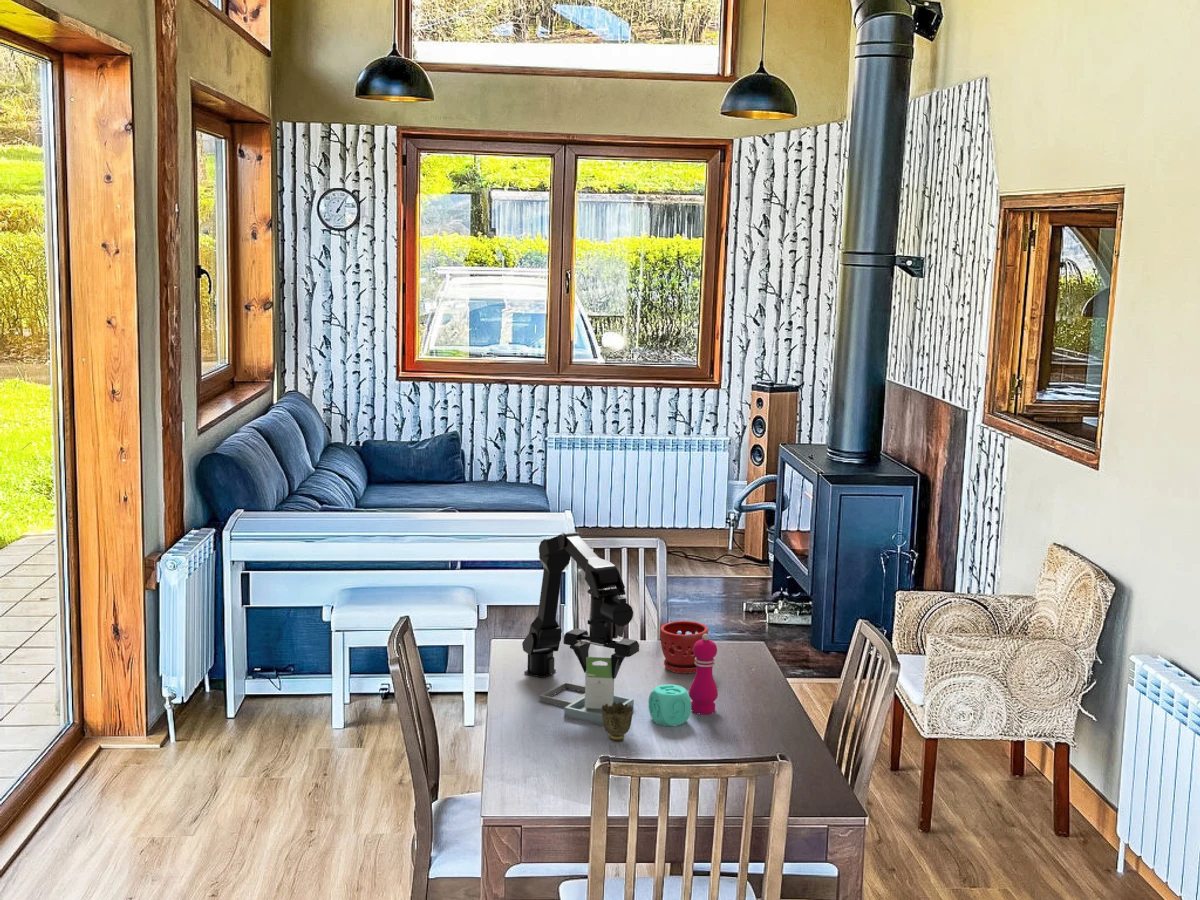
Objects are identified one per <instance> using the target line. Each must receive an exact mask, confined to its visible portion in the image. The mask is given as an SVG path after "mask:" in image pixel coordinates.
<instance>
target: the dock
mask: <svg viewBox="0 0 1200 900" xmlns="http://www.w3.org/2000/svg"><path fill="white" fill-rule="evenodd" d="M564 688H565V689H567V688H570V689H569V690H571V689H574V690H573V691H575V690H579V691H578V692H580V691H583V692H582V694H581V695H580V696H577V697H576V698H574V699H572V700H567V699H562V698H557V697H553V696H555V695H556V694H555V693H557V692H558V693H560V692H562V691H564V690H565V689H564ZM563 689H564V690H563ZM561 690H562V691H561ZM559 691H560V692H559ZM584 692H585V685H582V684H578V683H573V682H568V681H563V682H562V683H560V684H558V685H556V686H554V687H552V688H550V689H548V690H547V691H545V692H543V693H541V694H540V695H539V702H541V701H542V703H545V702H548V703H547V704H550V703H552V704H551V705H554V704H556V705H555V706H558V705H560V706H559V707H563V706H565V707H566V706H568V705H569V704H571V703H573V702H575V701H576V700H578V699H580V698H581V697H583V696H585V693H584ZM558 693H557V694H558ZM554 694H555V695H554ZM552 695H553V696H552ZM550 696H551V697H550Z"/></svg>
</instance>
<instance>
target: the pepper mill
mask: <svg viewBox="0 0 1200 900" xmlns="http://www.w3.org/2000/svg"><path fill="white" fill-rule="evenodd" d="M693 653H694V655H695V656H696V658H695V664H696V672H695V675H694V679H693V680H692V682H691V684H690V687H689V691H688V694H689V696H690V700H691V710H692V711H693V712H692V711H691V712H692V713H694V712H695V714H697V713H700V714H699V715H712V714H713V713H715V711H716V703H715V702H716V701H717V698H718V695H719V694H718V687H717V684H716V682H715V679H714V676H713V666H715V657H716V656H717V654H718V647H717V644H716V643H715V641H713V640H711V639H710V636H709V633H708V634H703V636H702V639H701V640H698V641H697V642H696V643H695V644H694V647H693Z"/></svg>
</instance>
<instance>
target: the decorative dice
mask: <svg viewBox="0 0 1200 900" xmlns="http://www.w3.org/2000/svg"><path fill="white" fill-rule="evenodd" d="M691 702H692V699H691V698H690V696H689V691H688V690H687V689H686V688H685V687H684V686H682V685H677V684H670V683H669V684H661V685H657V686H656V687H654V688H653V689H652V691H651V692H650V693H649V696H648V711H649V714H650V718H651V719H652V721H653V722H654V723H655V722H656V723H655V724H657V723H658V724H657V725H659V724H660V726H663V725H665V726H664V727H677V726H676V725H679V726H681V724H682V725H684V724H685V723H687V721H688V719H689V718H690V717H691V713H692V711H691ZM674 725H675V726H674Z"/></svg>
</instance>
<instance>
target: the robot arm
mask: <svg viewBox="0 0 1200 900" xmlns="http://www.w3.org/2000/svg"><path fill="white" fill-rule="evenodd" d="M538 553H539V556H538V558H539V560H540V562H541V563H540V564H541V565H542V566H543V574H542V581H541V587H540V596H539V597H540V598H539V604H538V613H537V616H536V617H535V618H534V620H533V621H532V623H531V624H530V626H529V632H528V634H527V635H526V636H525V638H524V640H523V641H522V643H521V644H522V651H523V652H524V653H526V654H527V670H525V671H524V675H529V676H533V677H539V678H542V677H545V678H547V677H548V676H550V675H552V674H554V673H556V672H557V670H556V669H555V657H554V652H559V648H560V643H561V642H562V639H563V644H564V645H566V646H569V649H571V650H573V653H574V654H575V656H576V657H577V659H578V661H579V664H580V667H581V668H582V670H583V673H584V674H586V667H587V666H586V664H587V662H586V661H587V660H586V657H589V651H590V650H589V649H590V647H591V645H593V646H600V647H604V648H608V649H612V650H614V653H612V654H610V658H611V669H612V679H614V680H615V679H616V678H617V676H618V673H619V671H620V668H621V666H622V663H623V661H624V660H625V658H630V657H632V656H634V655H636V654H637V653H639V652H640V643H639V642H638V640H635V639H631V638H623V637H624V631H625V627H626V626H627V625H628V624H630V622H632V620H633V617H634V611H633V608H632V606H631V604H629V603H627V598H626V597H625V595H626V590H625V588H626V586H625V584H624V582H623V579H622V577H621V576H622V575H621V573H620V570H619V569H618V567H617V566H616V565H615V564H614V563H612V562H611V561H609V560H607V559H604V558H600V557H599V556H598V555H597V554H596V553H595V552H594V551H593V549H592V548H591V547H590V546H589V545H588V544H587V543H586V542H585V541H584V539H582V536H581V534H580V533H579V532H576V531H570V532H562V533H561V534H559V535H557V536H556V535H555V536H553V537H551V538H545V539H542V540H541V541H540V543H539V546H538ZM571 558H572V559H573V560H574V561H575V562H576V564H577V565H578V566H579V567H580V568H581V569H582V570H583V572H584V580H585V582H586V583H587V585H588V587H589V589H587V594H589V595H590V614H589V616H590V617H589V619H588V620H587V625H589V632H588V631H587V630H586V629H581V628H576V627H574V628H573V629H571V630H569V631H566V633H564V635H563V638H562V632H563V630H562V628H561V627H560V625H559V624H558V620H557V613H558V605H559V598H560V592H561V591H560V590H561V586H562V585H561V583H562V576H563V571H564V570H565V569H566V568H567V566H568V565H569V564H570V561H571ZM618 637H619V638H622V639H621V640H619V641H617V640H614V639H617V638H618ZM555 671H556V672H555ZM551 673H552V674H551ZM546 676H547V677H546Z"/></svg>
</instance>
